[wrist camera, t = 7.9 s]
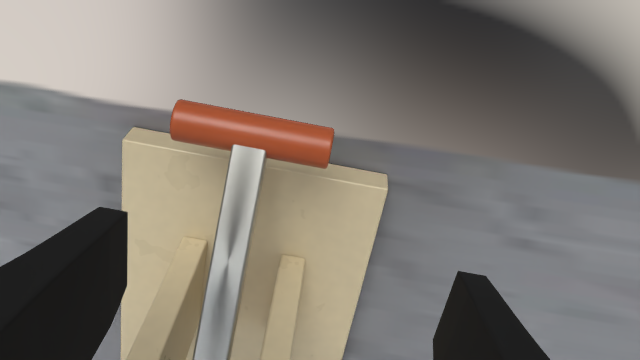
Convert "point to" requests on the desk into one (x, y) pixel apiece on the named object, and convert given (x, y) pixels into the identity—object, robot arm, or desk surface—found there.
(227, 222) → the lever
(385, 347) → the desk surface
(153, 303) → the bracket
